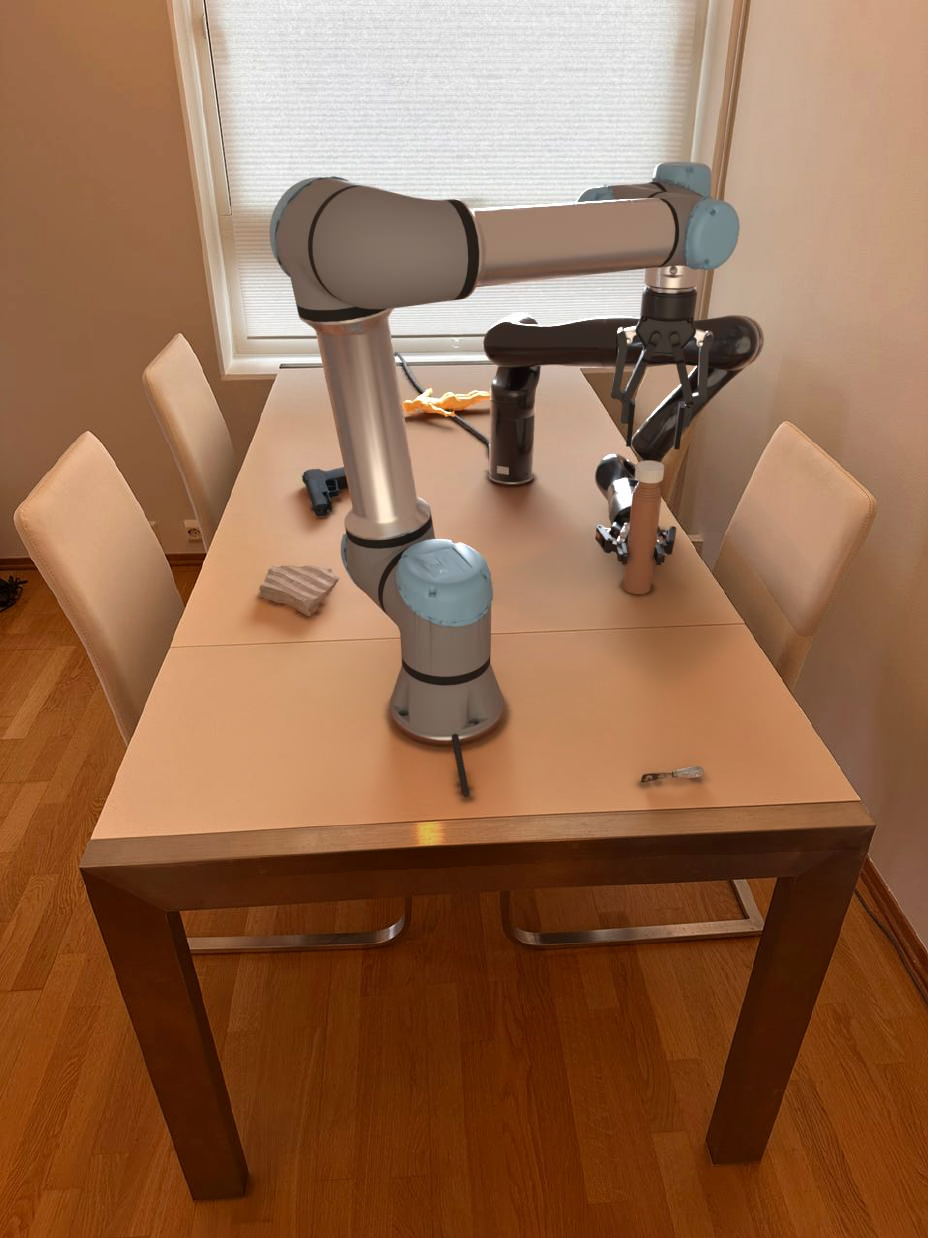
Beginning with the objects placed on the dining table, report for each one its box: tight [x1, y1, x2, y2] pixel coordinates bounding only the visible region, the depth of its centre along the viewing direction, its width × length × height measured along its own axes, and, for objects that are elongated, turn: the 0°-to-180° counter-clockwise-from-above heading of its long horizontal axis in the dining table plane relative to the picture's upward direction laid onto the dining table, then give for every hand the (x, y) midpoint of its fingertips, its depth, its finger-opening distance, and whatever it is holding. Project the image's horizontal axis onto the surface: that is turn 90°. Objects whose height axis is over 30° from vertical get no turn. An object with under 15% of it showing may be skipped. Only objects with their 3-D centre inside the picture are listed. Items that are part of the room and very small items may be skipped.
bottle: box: [622, 481, 662, 595], centre depth 144 cm, size 4×4×21 cm
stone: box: [258, 564, 339, 617], centre depth 147 cm, size 13×12×3 cm
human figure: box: [402, 385, 490, 418], centre depth 225 cm, size 20×20×4 cm
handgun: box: [301, 466, 349, 518], centre depth 180 cm, size 3×18×12 cm
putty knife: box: [640, 765, 705, 784], centre depth 109 cm, size 1×8×2 cm, turn 103°
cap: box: [635, 460, 665, 484], centre depth 139 cm, size 4×4×2 cm
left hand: (652, 444), depth 136 cm, fingers open, 6 cm apart
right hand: (642, 560), depth 144 cm, fingers open, 5 cm apart
